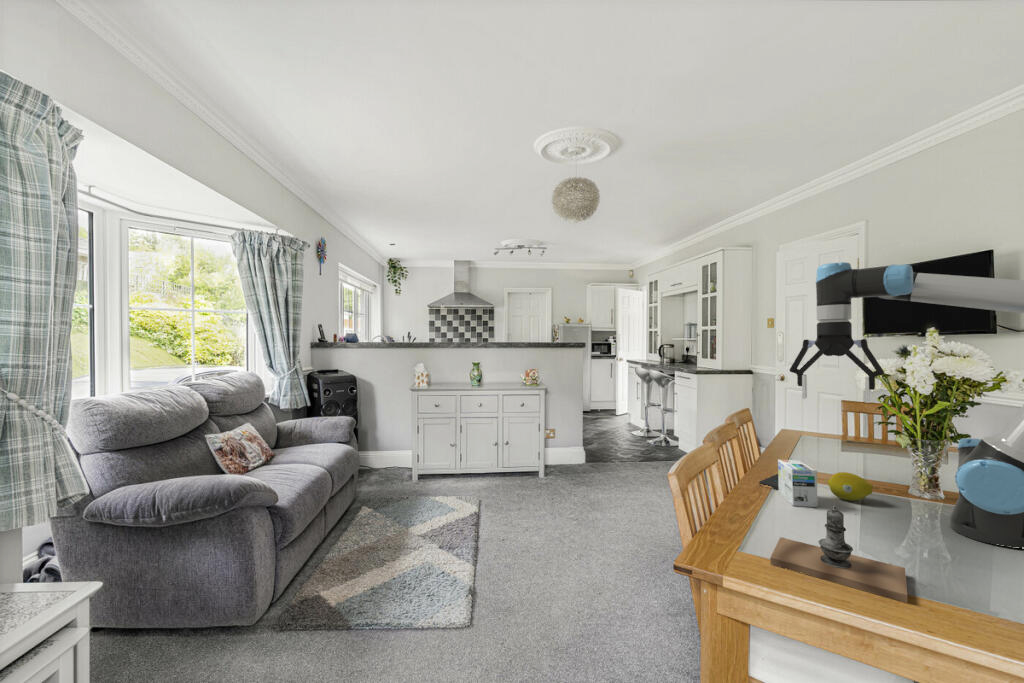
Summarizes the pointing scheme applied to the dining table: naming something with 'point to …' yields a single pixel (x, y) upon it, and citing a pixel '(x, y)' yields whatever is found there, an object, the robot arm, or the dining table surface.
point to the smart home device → (771, 482)
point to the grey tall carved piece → (835, 541)
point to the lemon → (849, 486)
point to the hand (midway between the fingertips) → (834, 400)
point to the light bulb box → (797, 483)
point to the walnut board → (858, 576)
